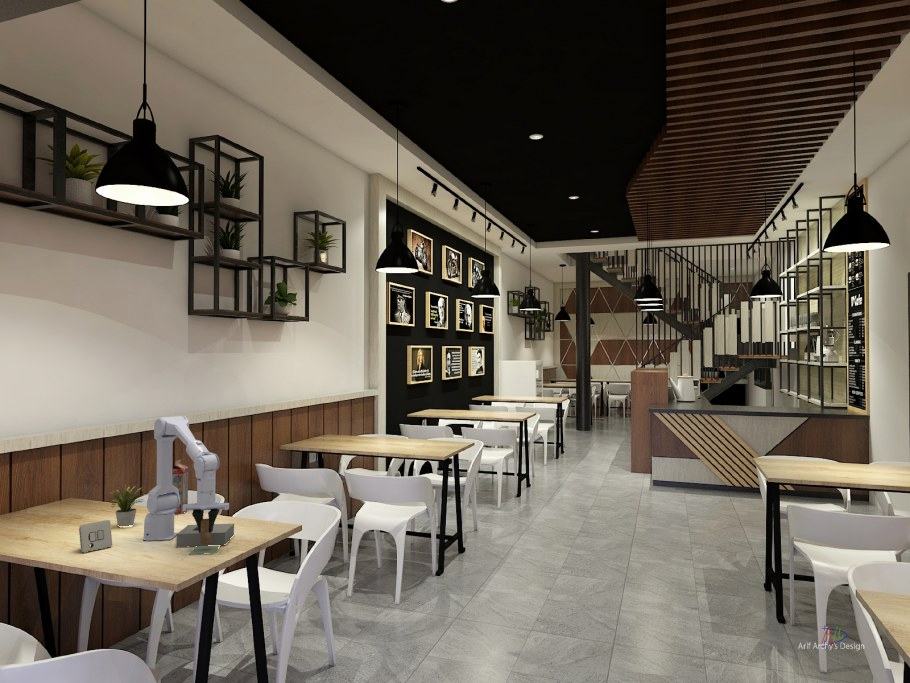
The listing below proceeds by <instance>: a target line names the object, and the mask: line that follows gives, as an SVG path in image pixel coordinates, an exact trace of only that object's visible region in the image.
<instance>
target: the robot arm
mask: <svg viewBox="0 0 910 683" xmlns="http://www.w3.org/2000/svg"><path fill="white" fill-rule="evenodd" d="M153 435H154V436H153V437H154V438H153V439H155V440H156V485H155V486H154V487H153V488H151V490H149V491H148V495H147V496H148V497H147V500H146V509H147V511H148V513H146V515H145V517H144V520H143V521H144V522H143V539H142V540H146V541H169V540H173V538H175V537H177V533H178V532H175V515H174V512H175V511H176V509H177V508H178V507H179V505H180V496H179V490H178V488H176V487H175V486H173V485H172V467H173V442H174V441H175V439H177V438H178V439H179V440H180V441H181V442H182V443H183V444H184V445H185V447H186V448H185V452H186V454H187V455H188V456H189V457H190V458H189V459H191V460H192V462H193V470H194V472H195V478H196V480H197V481H196V482H197V483H196V484H197V485H196V503H188V504H184V505H183V511H187V512H188V511H189V512H190V511H192V512H191V515H192V517H193V520H194V521H195V523H196V525H197V526H198V531H199V533H201V520H202V519H204V514H205V513H204V512H205V511H208V512H207V515H208V519H209V533H211V532H212V531H213V526H214V524H216V523H215V522H216V519H217V517H218V514H220V511H221V510H222V511H228V510H229V509H230V503H229V502H216V485H217V484H216V478H217V476H216V474H217V473H216V472H217V471H218V469H219V468H220V462H221V461H220V458H219V456H218V454H217V453H214V452H210V450H208V449H207V447H206V445H205V444H204V443H203V442H202V440H199V439H196V438H195V436H194V434H193V433H192V431H191V430H190V421H189V420H188V418H187V417H186V415H179V416H177V415H176V416H164V417H162V416H159V417H158V418H157V419H155V421H154V423H153ZM166 493H167V494H166Z"/></svg>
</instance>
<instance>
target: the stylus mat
mask: <svg viewBox="0 0 910 683" xmlns="http://www.w3.org/2000/svg"><path fill="white" fill-rule="evenodd" d="M218 547H219V546H197V547H193V549H192V550H191V551H190V552H189V553H188V555H189V554H197V555H205V554H204V553H215V552H216V551H217V550H218ZM218 551H219V550H218ZM218 551H217V552H218ZM217 552H216V553H217ZM216 553H215V554H216Z"/></svg>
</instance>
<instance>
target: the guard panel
mask: <svg viewBox="0 0 910 683" xmlns="http://www.w3.org/2000/svg"><path fill="white" fill-rule="evenodd" d="M176 533H177V535H176V543H175V544H176V546H175V547H176V548H188V547H187V546H208V545H200V542H201V533H199V531H198V526H197V524H188V525H186V526H185V527H183V529H181V530H180V531H179V532H176ZM233 535H234V536H235V523H214V526H213V531H212V532H211V543H210V544H209V545H224V544H226V543H227V542H228V541H229V540H230V538H231V537H232V536H233ZM230 541H231V540H230ZM230 541H229V542H230ZM229 542H228V543H229ZM228 543H227V544H228ZM227 544H226V545H227Z"/></svg>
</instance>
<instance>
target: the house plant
mask: <svg viewBox="0 0 910 683" xmlns="http://www.w3.org/2000/svg"><path fill="white" fill-rule="evenodd" d="M136 485H137V484H135V485H133V487H132V488H131V489H130V487H131V486H128V487H127V484H125V485H124V494H123V493H122V492H121V490H120V489H117V488H116V489H115V490H112V491H109V493H110V494H111V495H113V496H114V497H115V498H116V499H112V500H111V502H114V503H111V507H112V508H115V506H117V507H118V508H120V509H117V510H115V516H116V517H115V518H116V521H117V522H116V523H117V526H118V525H119V526H129V525H133V524H134V523H135V520H136V515H137V514H136V513H137V509H136V508H133V506H135V504H137V503H143V502H145V499H143V498H142V497H144V496H148V495H149V493H148V494H144V493H143V494H140V493H141V492H142V490H141V489H143V488H144V486H142V487H139V488H138V489H137V490H135V492H134V493H133V494H132V495H131V493H132V492H133V490H134V489H135V488H136ZM115 491H116V492H117V493H116V492H115ZM144 491H146V489H144ZM137 494H139V495H137ZM140 498H141V499H140ZM133 526H134V525H133Z"/></svg>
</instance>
